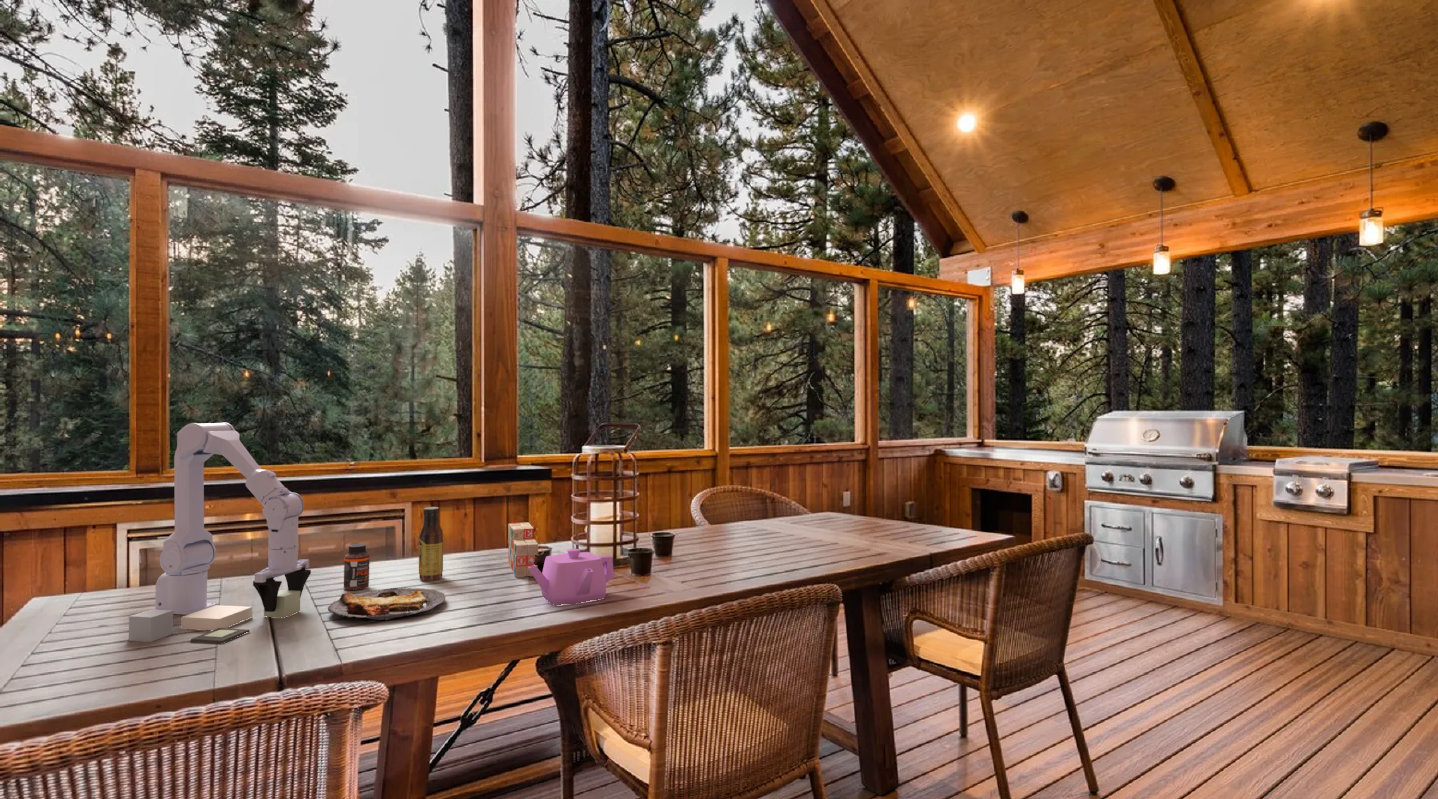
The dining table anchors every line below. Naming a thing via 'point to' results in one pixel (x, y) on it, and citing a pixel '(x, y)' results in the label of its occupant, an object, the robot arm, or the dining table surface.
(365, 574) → the supplement bottle
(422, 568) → the sauce bottle
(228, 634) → the tile
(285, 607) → the sage block
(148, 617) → the grey block
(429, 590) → the food plate
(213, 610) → the base block
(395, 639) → the dining table surface
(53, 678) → the dining table surface
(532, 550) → the stack of blocks
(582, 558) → the teakettle
